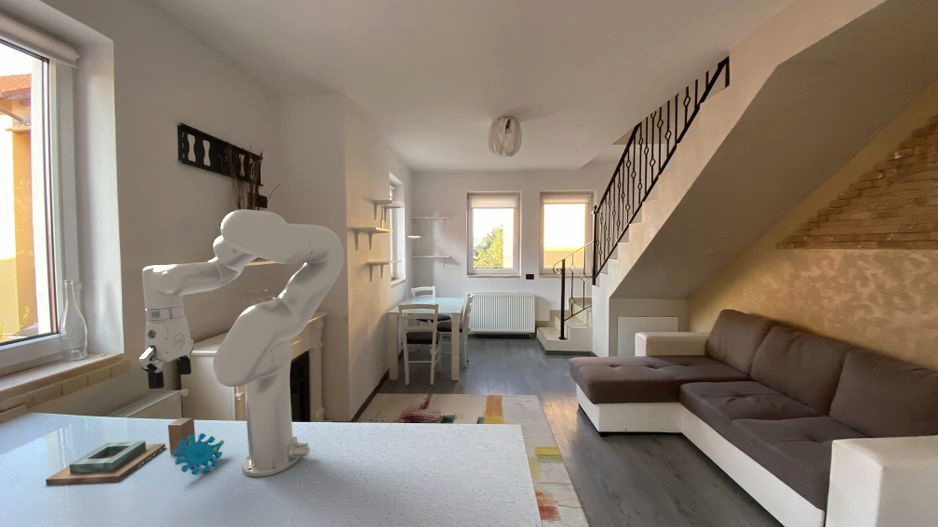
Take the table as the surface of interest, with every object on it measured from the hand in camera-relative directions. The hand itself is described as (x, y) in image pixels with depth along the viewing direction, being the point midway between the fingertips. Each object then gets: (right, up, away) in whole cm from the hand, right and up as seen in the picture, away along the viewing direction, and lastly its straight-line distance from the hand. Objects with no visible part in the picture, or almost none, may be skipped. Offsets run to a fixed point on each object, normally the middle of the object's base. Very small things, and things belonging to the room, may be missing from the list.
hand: (171, 380), depth 98 cm
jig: (-12, -19, -4) cm, 23 cm away
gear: (+12, -19, -6) cm, 23 cm away
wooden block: (+2, -19, +2) cm, 19 cm away
